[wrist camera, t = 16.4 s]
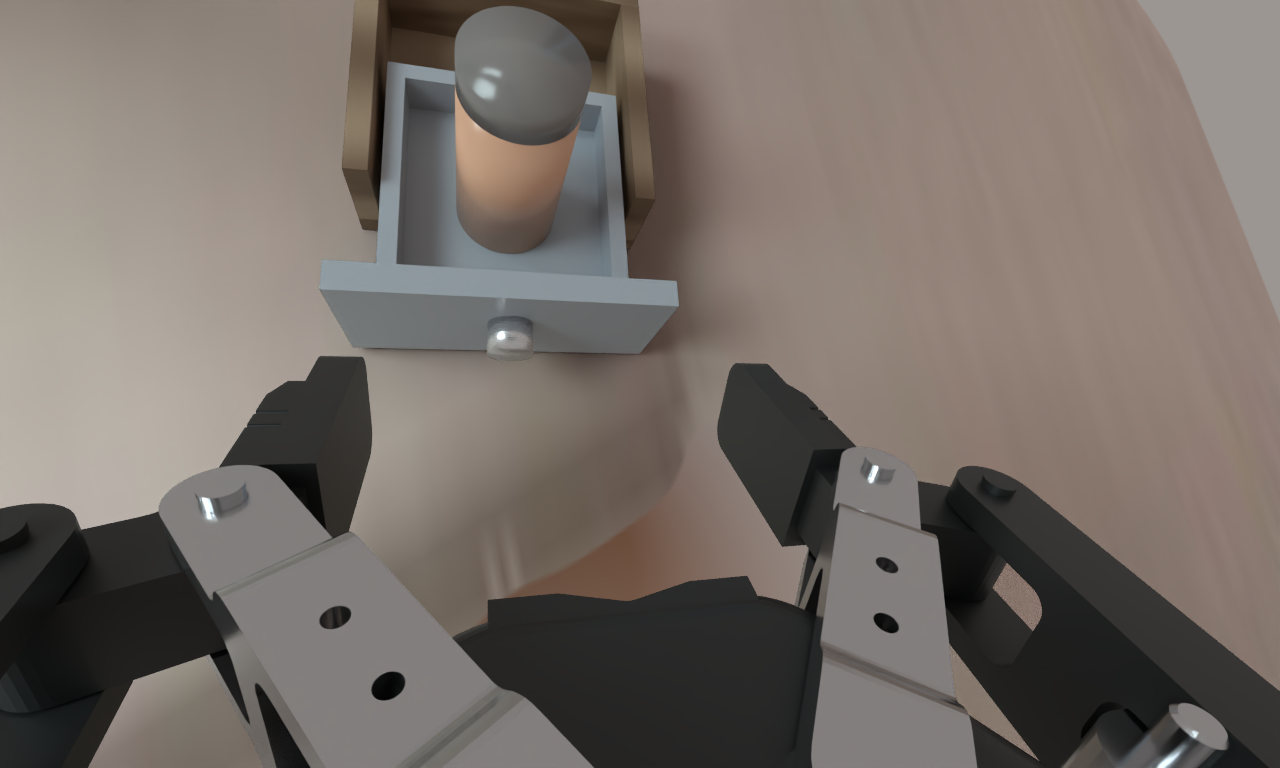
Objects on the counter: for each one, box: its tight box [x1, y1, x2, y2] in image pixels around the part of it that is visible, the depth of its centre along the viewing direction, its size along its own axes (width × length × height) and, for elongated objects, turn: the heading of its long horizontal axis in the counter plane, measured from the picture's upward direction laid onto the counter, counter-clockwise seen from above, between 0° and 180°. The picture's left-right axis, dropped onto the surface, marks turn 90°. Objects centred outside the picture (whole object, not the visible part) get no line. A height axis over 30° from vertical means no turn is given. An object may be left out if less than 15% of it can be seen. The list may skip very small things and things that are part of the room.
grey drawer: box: [319, 61, 679, 361], centre depth 27 cm, size 15×14×6 cm
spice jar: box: [455, 6, 592, 254], centre depth 25 cm, size 5×5×10 cm
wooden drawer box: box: [342, 0, 655, 249], centre depth 30 cm, size 13×14×5 cm
